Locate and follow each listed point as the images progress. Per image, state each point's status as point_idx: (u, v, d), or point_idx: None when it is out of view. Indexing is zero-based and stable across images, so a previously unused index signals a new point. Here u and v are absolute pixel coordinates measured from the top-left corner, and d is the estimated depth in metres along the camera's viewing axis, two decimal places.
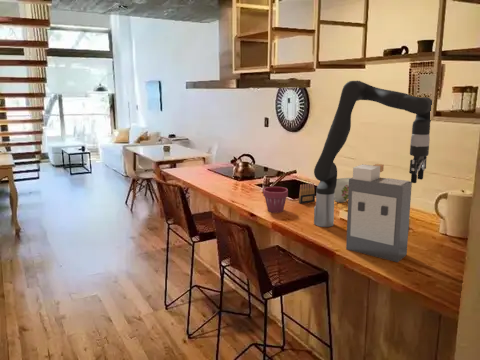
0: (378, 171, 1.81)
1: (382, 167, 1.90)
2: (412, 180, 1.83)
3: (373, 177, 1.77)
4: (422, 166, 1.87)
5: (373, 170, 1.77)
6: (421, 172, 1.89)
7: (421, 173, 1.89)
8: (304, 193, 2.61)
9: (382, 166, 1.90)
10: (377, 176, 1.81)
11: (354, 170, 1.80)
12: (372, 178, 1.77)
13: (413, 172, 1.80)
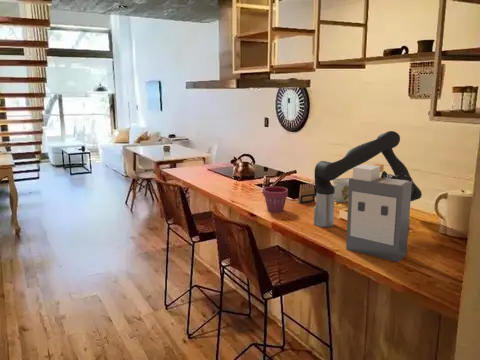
0: (378, 171, 1.81)
1: (382, 167, 1.90)
2: (403, 175, 2.02)
3: (373, 177, 1.77)
4: None
5: (373, 170, 1.77)
6: (386, 175, 2.09)
7: (385, 175, 2.08)
8: (304, 193, 2.61)
9: (382, 166, 1.90)
10: (377, 176, 1.81)
11: (354, 170, 1.80)
12: (372, 178, 1.77)
13: (409, 180, 2.03)
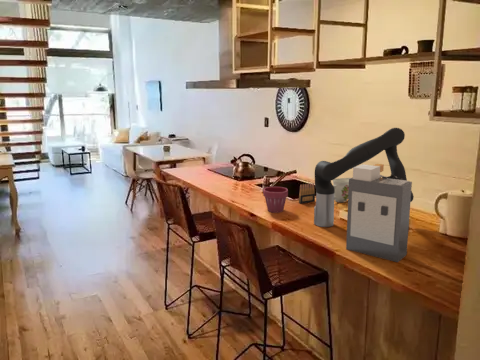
0: (378, 171, 1.81)
1: (382, 167, 1.90)
2: (394, 176, 1.92)
3: (373, 177, 1.77)
4: None
5: (373, 170, 1.77)
6: None
7: None
8: (304, 193, 2.61)
9: (382, 166, 1.90)
10: (377, 176, 1.81)
11: (354, 170, 1.80)
12: (372, 178, 1.77)
13: None
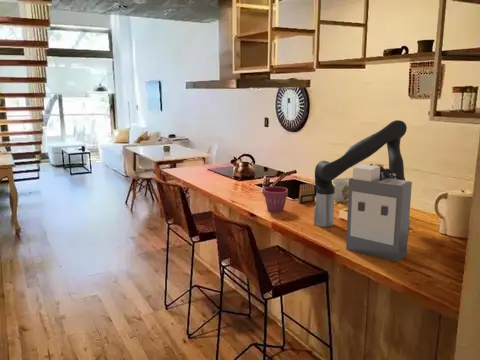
0: (378, 171, 1.81)
1: None
2: (381, 167, 1.86)
3: (373, 177, 1.77)
4: None
5: (373, 170, 1.77)
6: None
7: None
8: (304, 193, 2.61)
9: (382, 166, 1.90)
10: (377, 176, 1.81)
11: (354, 170, 1.80)
12: (372, 178, 1.77)
13: (387, 172, 1.88)
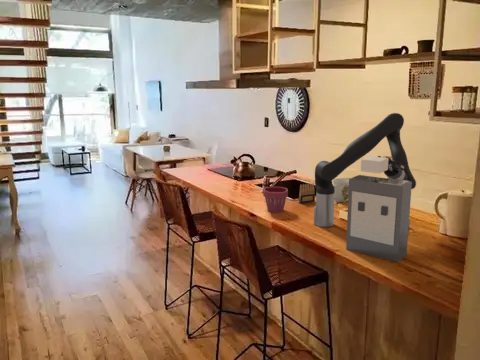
0: (386, 163, 1.78)
1: None
2: (389, 159, 1.83)
3: (381, 169, 1.74)
4: None
5: (382, 162, 1.74)
6: None
7: None
8: (304, 193, 2.61)
9: (390, 158, 1.87)
10: (385, 168, 1.78)
11: (362, 162, 1.77)
12: (381, 170, 1.74)
13: (396, 164, 1.85)
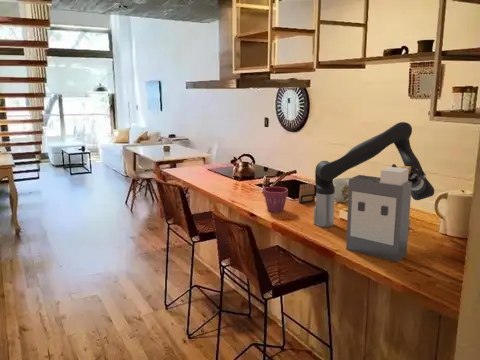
0: (407, 174, 1.73)
1: (409, 170, 1.82)
2: (415, 168, 1.77)
3: (402, 180, 1.70)
4: None
5: (402, 173, 1.69)
6: None
7: None
8: (304, 193, 2.61)
9: (409, 168, 1.82)
10: (406, 179, 1.73)
11: (382, 173, 1.72)
12: (401, 181, 1.70)
13: (421, 174, 1.79)
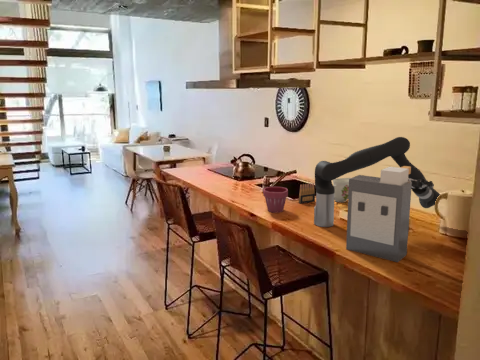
0: (407, 174, 1.73)
1: (409, 170, 1.82)
2: (425, 180, 1.92)
3: (402, 180, 1.70)
4: None
5: (402, 173, 1.69)
6: None
7: None
8: (304, 193, 2.61)
9: (409, 168, 1.82)
10: (406, 179, 1.73)
11: (382, 173, 1.72)
12: (401, 181, 1.70)
13: (431, 185, 1.94)
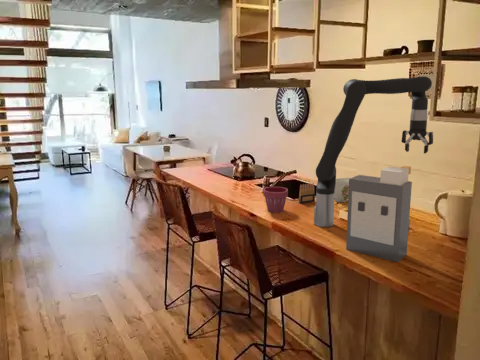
0: (407, 174, 1.73)
1: (409, 170, 1.82)
2: (427, 150, 2.04)
3: (402, 180, 1.70)
4: None
5: (402, 173, 1.69)
6: (408, 145, 2.10)
7: (408, 146, 2.10)
8: (304, 193, 2.61)
9: (409, 168, 1.82)
10: (406, 179, 1.73)
11: (382, 173, 1.72)
12: (401, 181, 1.70)
13: (432, 142, 2.03)
